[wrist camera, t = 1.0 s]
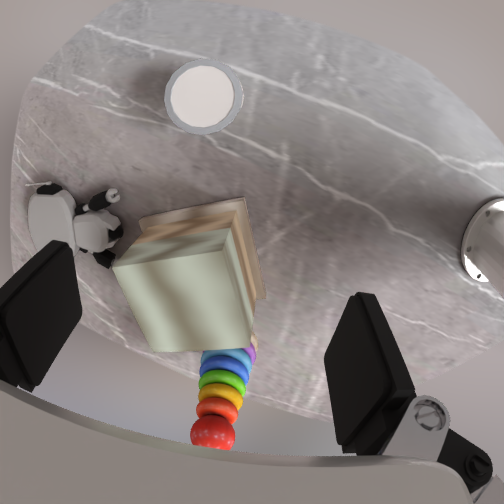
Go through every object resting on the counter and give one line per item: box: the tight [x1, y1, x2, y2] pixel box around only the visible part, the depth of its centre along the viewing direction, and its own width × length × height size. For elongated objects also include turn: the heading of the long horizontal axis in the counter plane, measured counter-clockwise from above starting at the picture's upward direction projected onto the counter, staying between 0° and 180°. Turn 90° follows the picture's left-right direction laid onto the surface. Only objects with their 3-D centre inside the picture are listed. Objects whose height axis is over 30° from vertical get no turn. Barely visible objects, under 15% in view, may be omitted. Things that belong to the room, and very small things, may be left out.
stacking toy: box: [190, 332, 258, 450], centre depth 36 cm, size 8×8×19 cm
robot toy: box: [25, 181, 123, 269], centre depth 36 cm, size 12×4×15 cm
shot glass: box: [164, 59, 244, 135], centre depth 26 cm, size 7×7×7 cm
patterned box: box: [112, 197, 266, 352], centre depth 33 cm, size 13×13×11 cm
